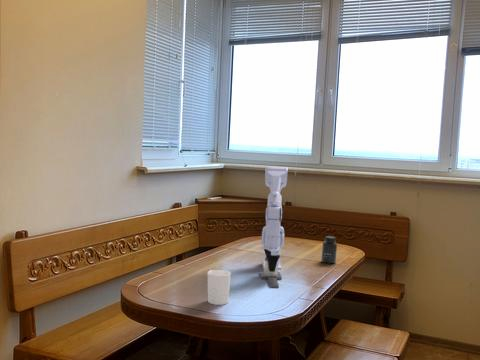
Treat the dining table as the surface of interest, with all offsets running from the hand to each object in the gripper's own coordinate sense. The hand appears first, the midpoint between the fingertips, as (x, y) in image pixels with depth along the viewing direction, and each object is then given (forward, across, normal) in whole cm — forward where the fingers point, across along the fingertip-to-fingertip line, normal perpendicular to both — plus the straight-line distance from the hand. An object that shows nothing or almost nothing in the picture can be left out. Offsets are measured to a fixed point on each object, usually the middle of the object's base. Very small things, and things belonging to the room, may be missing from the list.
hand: (271, 269), depth 200 cm
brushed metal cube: (+2, 0, 0) cm, 2 cm away
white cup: (+3, +34, -21) cm, 40 cm away
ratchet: (+3, +6, 0) cm, 6 cm away
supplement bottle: (+3, -29, +30) cm, 42 cm away
